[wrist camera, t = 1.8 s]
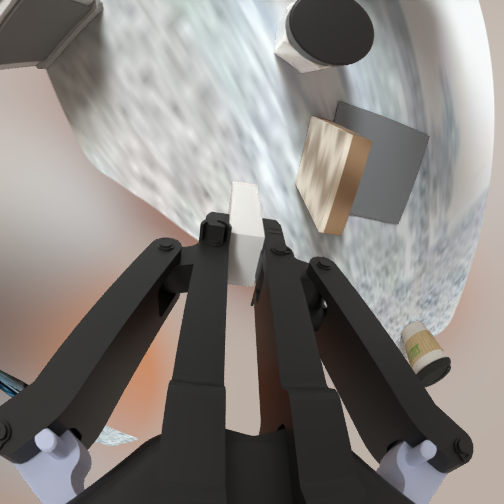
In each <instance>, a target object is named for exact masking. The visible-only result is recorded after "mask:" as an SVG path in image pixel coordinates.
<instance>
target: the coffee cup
mask: <svg viewBox="0 0 504 504" xmlns="http://www.w3.org/2000/svg"><path fill="white" fill-rule="evenodd" d="M402 337H403V341H404V344H405V349H406V352H407V355H408V359H409V362H410V366H411V368H412V369H413V371H414V372H415V374H416V375H417V377H418V378H419V380H420V381H421V383H422V384H423V386H424V387H428V386H430V385H433V384H435V383H436V382H438V381H440V380H441V379H442V378H444V377H445V376H446V375H447V374H448V373H449V371H450V369H451V366H450V363H451V361H450V358H449V357H446V355H445V354H444V352H443V349H442V348H441V347H440V345H439V344H438V343H437V341H436V340H435V338H434V337H433V335H432V334H431V333H430V331H428V330H427V328H426V327H425V325H424V324H423V323H422V322H421V321H414V322H412V323H410V324H409V325H407V326H406V327H405V328H404V329H403V331H402Z"/></svg>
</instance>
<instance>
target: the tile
mask: <svg viewBox="0 0 504 504" xmlns="http://www.w3.org/2000/svg"><path fill="white" fill-rule="evenodd" d="M371 144H372V141H371V140H369V139H367V138H365V137H363V136H361V135H359V134H357V133H355V132H353V131H351V130H349V129H347V128H345V127H343V126H340V125H338V124H336V123H334V122H332V121H329V120H326V119H322V118H318V117H314V116H311V119H310V123H309V128H308V132H307V136H306V140H305V145H304V149H303V153H302V157H301V161H300V165H299V169H298V173H297V177H296V181H295V184H296V186H297V188H298V190H299V192H300V194H301V196H302V198H303V200H304V202H305V204H306V206H307V208H308V210H309V212H310V214H311V217H312V219H313V221H314V223H315V225H316V227H317V229H318V231H319V232H322V233H328V234H334V235H340V236H341V235H342V233H343V230H344V227H345V224H346V222H347V219H348V216H349V213H350V210H351V207H352V205H353V202H354V199H355V196H356V193H357V190H358V187H359V184H360V180H361V177H362V174H363V171H364V168H365V164H366V161H367V158H368V155H369V151H370V148H371Z"/></svg>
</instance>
